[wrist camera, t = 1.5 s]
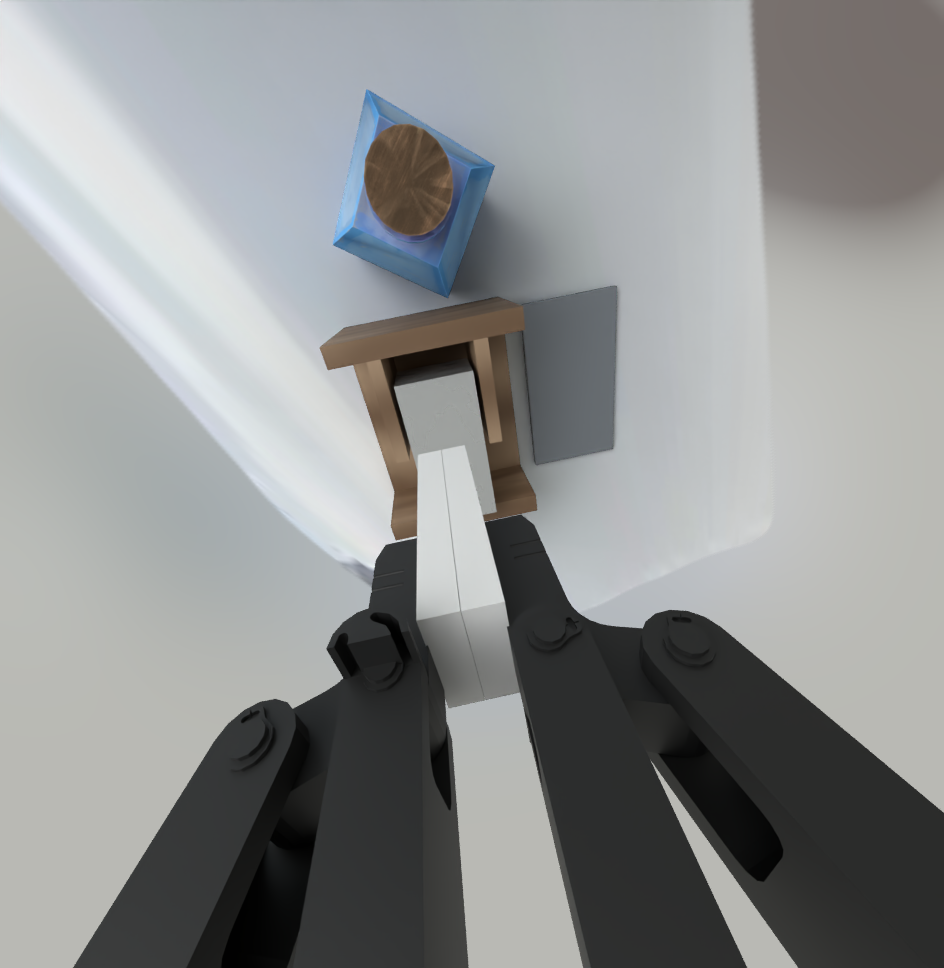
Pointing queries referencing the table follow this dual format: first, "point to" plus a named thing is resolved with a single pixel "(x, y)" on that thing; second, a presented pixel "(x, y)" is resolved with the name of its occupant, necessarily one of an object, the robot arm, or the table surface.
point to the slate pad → (571, 373)
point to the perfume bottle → (409, 197)
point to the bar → (446, 418)
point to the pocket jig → (428, 343)
